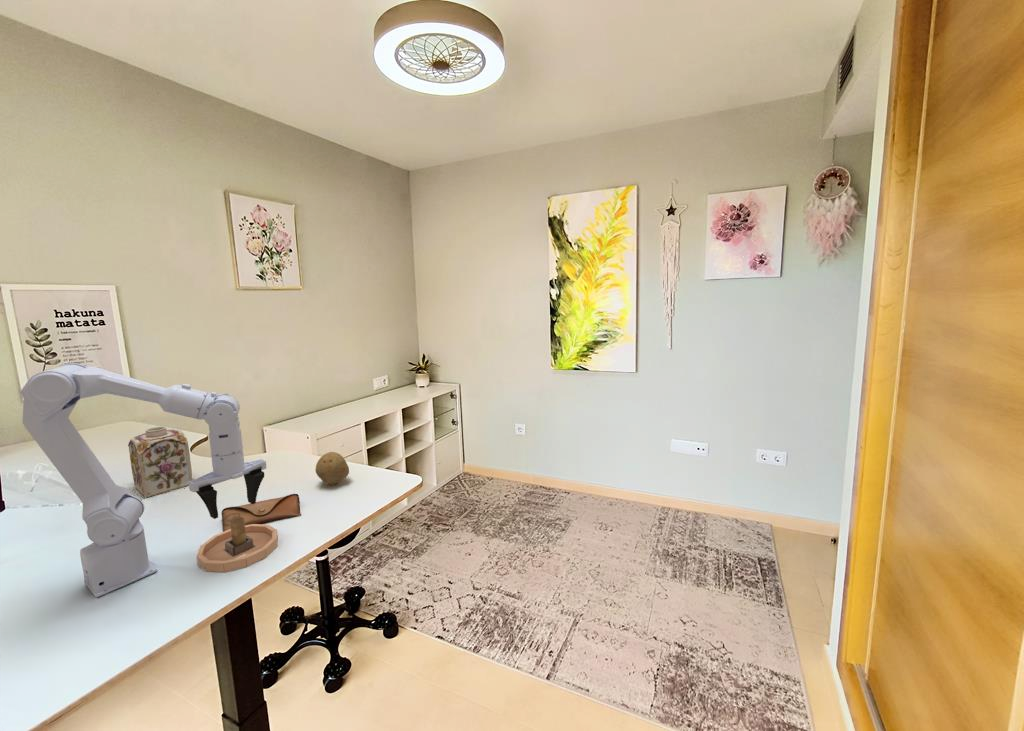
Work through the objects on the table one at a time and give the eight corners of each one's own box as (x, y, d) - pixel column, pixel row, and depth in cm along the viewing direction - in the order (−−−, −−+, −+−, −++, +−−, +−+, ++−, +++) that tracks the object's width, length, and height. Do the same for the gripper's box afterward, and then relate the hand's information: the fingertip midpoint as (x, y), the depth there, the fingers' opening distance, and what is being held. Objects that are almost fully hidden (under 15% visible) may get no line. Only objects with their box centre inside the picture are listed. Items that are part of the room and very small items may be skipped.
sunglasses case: (220, 535, 101) (218, 507, 103) (222, 537, 106) (220, 510, 108) (303, 515, 110) (300, 489, 112) (301, 517, 116) (298, 493, 118)
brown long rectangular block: (237, 551, 94) (234, 522, 93) (233, 548, 95) (229, 519, 94) (247, 546, 95) (243, 518, 94) (242, 544, 97) (239, 515, 95)
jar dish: (217, 581, 85) (216, 572, 85) (186, 555, 93) (185, 547, 93) (290, 545, 97) (289, 537, 97) (257, 525, 106) (256, 518, 105)
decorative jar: (144, 499, 118) (135, 437, 115) (133, 487, 125) (124, 429, 122) (195, 484, 128) (187, 427, 125) (182, 474, 135) (175, 419, 132)
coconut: (312, 482, 129) (309, 451, 127) (341, 474, 135) (339, 444, 133) (322, 493, 122) (319, 460, 121) (352, 484, 128) (350, 453, 127)
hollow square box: (233, 557, 92) (232, 549, 92) (223, 549, 95) (222, 542, 94) (255, 546, 96) (254, 539, 96) (245, 540, 98) (244, 533, 98)
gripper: (196, 466, 83) (203, 530, 86) (271, 445, 95) (276, 501, 98) (181, 458, 87) (189, 519, 89) (255, 439, 99) (260, 493, 101)
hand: (233, 509), depth 94 cm, fingers open, 7 cm apart
